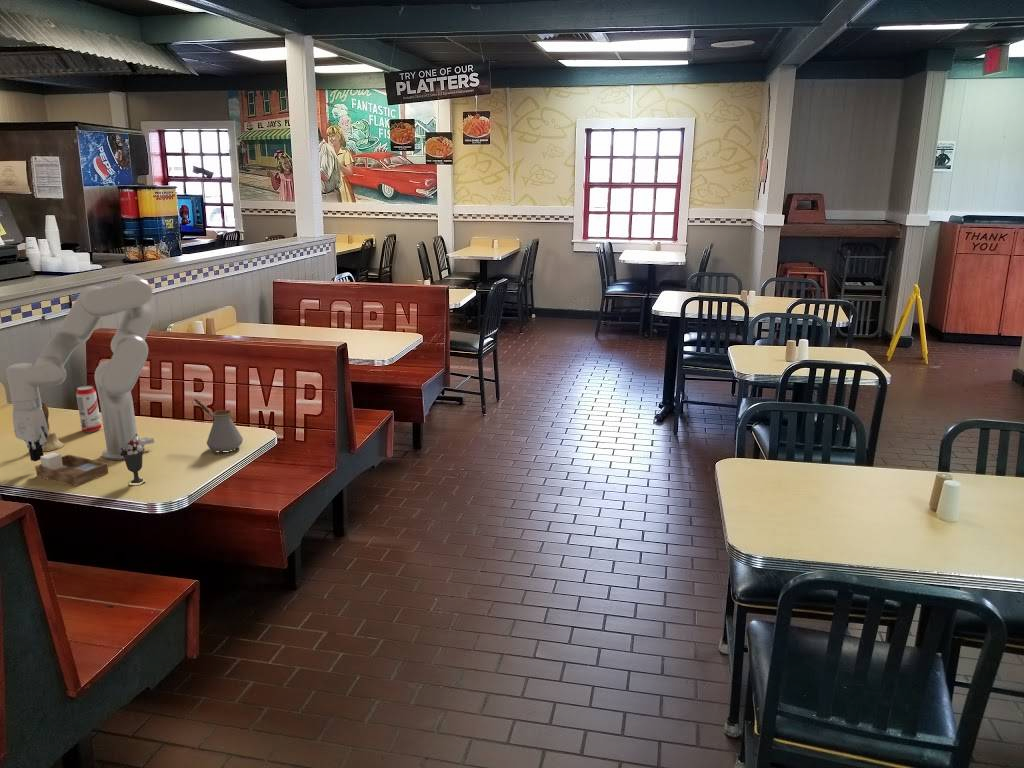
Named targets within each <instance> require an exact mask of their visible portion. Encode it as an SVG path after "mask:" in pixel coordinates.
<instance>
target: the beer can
mask: <svg viewBox="0 0 1024 768" xmlns="http://www.w3.org/2000/svg"><path fill="white" fill-rule="evenodd" d="M75 395H76V401H77V407H78V409H77V410H78V413H79V420H80V426H81V431H83V432H84V431H85V433H95V432H98V431H100V430H101V428H102V422H101V421H102V420H101V416H100V415H101V414H100V409H99V403H98V398H97V397H98V396H97V391H96V390H95V388H94V386H93V385H82V386H79V387H77V388H76V393H75ZM99 429H100V430H99ZM97 430H98V431H97ZM94 431H95V432H94Z"/></svg>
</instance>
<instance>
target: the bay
mask: <svg viewBox="0 0 1024 768" xmlns="http://www.w3.org/2000/svg"><path fill="white" fill-rule="evenodd" d="M97 466H98V465H94V464H90V463H87V464H84V465H82V466H79V467H77V468H75V469H79V470H83V471H87V470H89V469H92V468H95V467H97Z"/></svg>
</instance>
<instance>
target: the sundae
mask: <svg viewBox="0 0 1024 768" xmlns="http://www.w3.org/2000/svg"><path fill="white" fill-rule="evenodd" d="M137 435H138V433H137V434H135V436H137ZM134 438H135V437H134ZM134 438H133V439H134ZM121 450H122V451H121V452H120V455H121V456H123V457H124V459H123V460H124V462H125V466H126V468H127V470H128V471H130V472H131V473H133V479H132V480H130V481H131V483H140V482H142V481H143V479H144V478H140V476H139V472H140V471H141V469H142V468H143V457H144V456H143V454H144V453H145V451H146V450H144V449H143V448H142V447H141V446H140V445H139V442H138V441H137V440H136V441H135V442H134V441H133V440H130V442H129V443H127V444H126V446H125V449H124V450H123V449H122V448H121Z"/></svg>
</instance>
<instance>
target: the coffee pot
mask: <svg viewBox="0 0 1024 768" xmlns="http://www.w3.org/2000/svg"><path fill="white" fill-rule="evenodd" d="M194 401H195V403H194ZM191 404H192V405H196V404H197V405H199V407H200V408H201V409H202V410H203V411H204V412H206V413H207V414H208V415H210V417H212V419H213V422H212V425H211V428H210V431H209V435H208V438H207V441H206V445H207V447H208V449H210V450H211V451H213V452H214V451H219V452H223V451H230V450H234V449H236V448H237V449H238V448H239V447H240V446H241V445H242V443H243V442H244V441H243V440H244V439H243V436H242V435H241V433H240V431H239V430H238V428H237V426H236V425H235V423H234V422H233V421H234V420H233V419H232V417H231V415H232V414H233V411H232V410H231V409H222V410H221V409H220V410H216V411H213V412H211V411H210V410H209V408H207V406H206V405H205V404H203V403H201V401H199V399H198V398H194V399H193V400H192V401H191ZM237 449H236V450H237Z"/></svg>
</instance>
